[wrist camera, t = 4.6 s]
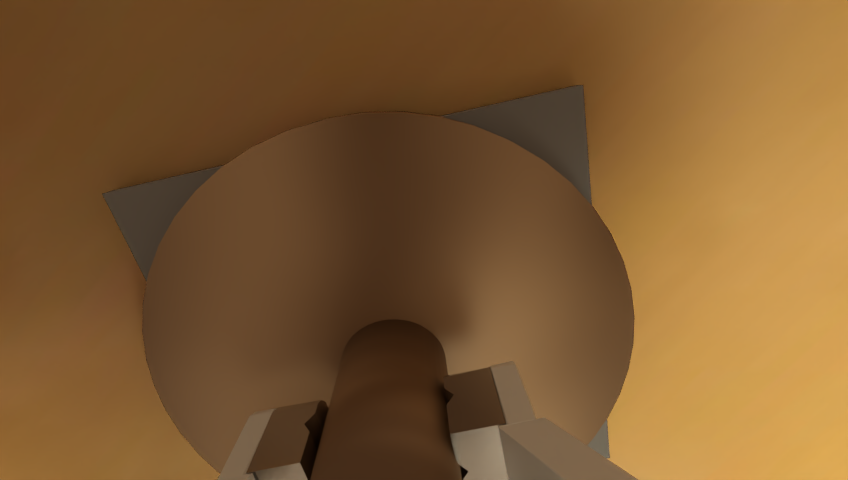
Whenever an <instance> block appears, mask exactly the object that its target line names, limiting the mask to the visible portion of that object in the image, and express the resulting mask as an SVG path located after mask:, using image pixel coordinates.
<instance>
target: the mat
mask: <svg viewBox="0 0 848 480" xmlns="http://www.w3.org/2000/svg"><path fill="white" fill-rule="evenodd" d="M441 117H445V118H449V119H453V120H456V121H460V122H464V123H468V124H472V125H474V126H477V127H479V128H482V129H484V130H486V131H489V132H491V133H493V134H496V135H498V136H501V137H503V138H505V139H507V140H510V141H512V142H514V143H515V144H517V145H519V146H520V147H522V148H524V149H525V150H527V151H529V152H530V153H532V154H534V155H535V156H537V157H539V158H540V159H542V160H544V161H545V162H546V163H548V164H549V165H550V166H551V167H552V168H554V169H555V170H556V171H557V172H559V173H560V174H561V175H562V176H564V177H565V178H566V179H567V180H568V181H570V182H571V183H572V184H573V185H574V186H575V187H576V189H577V190H578V191H579V192H580V193H581V194H582V195H583V196H584V197H585V198H586V200H587V201H588V202H589V203H590V204H591V205H592V202H591V188H590V174H589V160H588V146H587V132H586V118H585V104H584V90H583V85H576V86H571V87H567V88H563V89H558V90H554V91H549V92H545V93H541V94H536V95H532V96H527V97H523V98H518V99H514V100H510V101H505V102H501V103H496V104H492V105H488V106H483V107H479V108H474V109H470V110H465V111H461V112H457V113H452V114H448V115H443V116H441ZM223 166H224V165H222V166H218V167H214V168H209V169H205V170H200V171H196V172H192V173H187V174H183V175H178V176H174V177H169V178H165V179H161V180H156V181H152V182H147V183H143V184H139V185H134V186H130V187H125V188H121V189H116V190H113V191H110V192H107V193H104V194H102V195H103V197H104V198H105V200H106V202H107V204H108V206H109V208H110V210H111V212H112V214H113V216H114V218H115V220H116V222H117V224H118V226H119V228H120V230H121V232H122V234H123V236H124V238H125V240H126V242H127V244H128V246H129V248H130V250H131V252H132V254H133V256H134V258H135V260H136V262H137V264H138V266H139V267H140V269H141V271H142V273H143V275H144V277H145V279H146V281H147V278H148V273H149V271H150V268H151V265H152V262H153V260H154V257H155V254H156V251H157V248H158V246H159V244H160V242H161V240H162V238H163V237H164V235H165V233H166V231H167V229H168V228H169V226H170V224H171V222H172V221H173V219H174V217H175V216H176V215H177V213H178V212H179V211H180V210H181V208H182V207H183V206H184V205H185V203H186V202H187V201H188V200H189V198H190V197H191V196H192V195H193V193H194V192H195V191H196V190H197V189H198V188H199V187H200V186H201V185H202V184H204V183H205V182H206V181H207V180H208V179H209V178H210V177H211V176H212V175H213V174H215V173H216V172H217V171H218V170H219V169H220V168H221V167H223ZM587 446H588V447H590V448H591V449H593V450H594V451H596V452H597V453H599V454H600V455H602V456H603V457H605V458H610V455H609V441H608V427H607V419H606V421H605V422H604V424H603V425H602V427H601V428H600V430H599V431H598V432H597V434H596V435H595V437H594V438H593V439H592V441H591V442H590V443H589V444H588V445H587Z"/></svg>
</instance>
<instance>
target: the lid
mask: <svg viewBox="0 0 848 480" xmlns="http://www.w3.org/2000/svg"><path fill="white" fill-rule="evenodd" d="M142 332H143V339H144V346H145V353H146V360H147V363H148V366H149V370H150V373H151V376H152V380H153V383H154V386H155V388H156V390H157V392H158V395H159V397H160V399H161V401H162V403H163V405H164V407H165V409H166V411H167V413H168V414H169V416H170V417H171V419H172V421H173V422H174V424H175V425H176V427H177V428H178V430H179V431H180V433H181V434H182V435H183V436H184V438H185V439H186V440H187V441H188V442H189V443H190V445H191V446H192V447H193V448H194V449H195V451H196V452H197V453H198V454H199V455H200V456H201V457H202V458H203V459H205V460H206V461H207V462H208V463H209V464H210V465H211V466H212V467H213V468H214V469H215V470H216V471H218V472H219V473H221V471H222V469H223V467H224V465H225V463H226V461H227V459H228V458H229V456H230V454H231V452H232V450H233V448H234V446H235V444H236V442H237V440H238V438H239V436H240V434H241V432H242V430H243V428H244V426H245V424H246V422H247V420H248V418H249V416H250V415H252V414H253V413H254V412H257V411H263V410H268V409H274V408H278V407H284V406H289V405H295V404H301V403H307V402H312V401H318V400H323V401H325V402H326V403H327V406H328V408H329V409H328V413H327V417H326V420H325V424H324V428H323V432H322V436H321V440H320V444H319V447H318V451H317V455H316V459H315V463H314V467H313V471H312V474H311V478H310V480H462V476H461V468H460V465H459V464H458V463H457V461H456V457H455V453H454V449H453V445H452V440H451V436H450V430H449V422H448V414H447V406H446V405H447V404H448V401H447V397H446V393H445V388H444V379H443V377H444V376H446V375H451V374H456V373H461V372H466V371H471V370H476V369H481V368H486V367H490V366H492V365H496V364H501V363H505V362H509V361H513V362H514V363H515V364H516V366H517V369H518V371H519V374H520V376H521V379H522V382H523V384H524V387H525V389H526V392H527V394H528V397H529V399H530V402H531V404H532V407H533V410H534V412H535V415H536V417H537V419H538V418H546V419H548V420H549V421H551V422H552V423H554V424H555V425H557V426H558V427H560V428H561V429H563V430H564V431H566V432H567V433H569V434H570V435H572V436H573V437H575V438H576V439H578V440H579V441H581V442H582V443H584V444H585V445H588V444H589V443H590V442H591V441H592V439H593V438H594V437H595V435H596V434H597V432H598V431H599V430H600V428H601V427H602V425H603V424H604V422H605V421H606V419H607V418H608V416H609V414H610V412H611V410H612V408H613V406H614V404H615V403H616V401H617V399H618V397H619V395H620V392H621V389H622V386H623V383H624V381H625V378H626V375H627V372H628V369H629V363H630V358H631V353H632V348H633V339H634V309H633V300H632V291H631V286H630V283H629V279H628V276H627V272H626V268H625V265H624V261H623V259H622V257H621V255H620V252H619V250H618V248H617V246H616V244H615V241H614V239H613V237H612V235H611V233H610V231H609V230H608V228H607V227H606V225H605V224H604V222H603V221H602V219H601V218H600V216H599V215H598V213H597V212H596V210H595V209H594V207H593V206H592V205H591V204H590V203H589V202H588V201H587V200H586V198H585V197H584V196H583V195H582V194H581V193H580V192H579V191H578V190H577V189H576V187H575V186H574V185H573V184H572V183H571V182H570V181H568V180H567V179H566V178H565V177H564V176H562V175H561V174H560V173H559V172H557V171H556V170H555V169H554V168H552V167H551V166H550V165H549V164H548V163H546V162H545V161H544V160H542V159H540V158H539V157H537V156H535V155H534V154H532V153H530V152H529V151H527V150H525V149H524V148H522V147H520V146H519V145H517V144H515V143H514V142H512V141H510V140H507V139H505V138H503V137H501V136H498V135H496V134H493V133H491V132H489V131H486V130H484V129H482V128H479V127H477V126H474V125H472V124H468V123H464V122H460V121H456V120H453V119H449V118H445V117H441V116H437V115H428V114H420V113H412V112H403V111H397V112H363V113H357V114H350V115H344V116H338V117H331V118H328V119H324V120H321V121H318V122H314V123H311V124H308V125H305V126H301V127H298V128H295V129H291V130H288V131H285V132H283V133H281V134H279V135H277V136H274V137H272V138H270V139H268V140H266V141H264V142H262V143H260V144H257V145H255V146H253V147H251V148H250V149H248V150H247V151H245V152H244V153H242V154H241V155H239V156H238V157H236V158H235V159H233V160H232V161H230V162H229V163H227V164H226V165H224V166H223V167H221V168H220V169H219V170H218V171H217V172H216V173H215V174H213V175H212V176H211V177H210V178H209V179H208V180H207V181H206V182H205V183H204V184H202V185H201V186H200V187H199V188H198V189H197V190H196V191H195V192H194V193H193V195H192V196H191V197H190V198H189V200H188V201H187V202H186V203H185V205H184V206H183V207H182V208H181V210H180V211H179V212H178V213H177V215H176V216H175V217H174V219H173V221H172V222H171V224H170V226H169V228H168V229H167V231H166V233H165V235H164V237H163V238H162V240H161V242H160V244H159V246H158V248H157V251H156V254H155V257H154V260H153V262H152V265H151V268H150V271H149V273H148V278H147V284H146V289H145V295H144V300H143V328H142Z"/></svg>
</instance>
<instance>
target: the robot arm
mask: <svg viewBox="0 0 848 480" xmlns="http://www.w3.org/2000/svg"><path fill="white" fill-rule="evenodd" d="M443 379H444V388H445V393H446V397H447V401H448V404H447V405H446V406H447V414H448V422H449V430H450V436H451V440H452V445H453V449H454V453H455V457H456V461H457V463H458V464H459V465H460V468H461V476H462V480H638V479H636V478H635V477H633V476H632V475H630V474H629V473H627V472H626V471H624V470H623V469H621V468H620V467H618V466H617V465H615V464H614V463H612V462H611V461H609V460H608V459H606V458H605V457H603V456H602V455H600V454H599V453H597V452H596V451H594V450H593V449H591V448H590V447H588V446H587V445H585V444H584V443H582V442H581V441H579V440H578V439H576V438H575V437H573V436H572V435H570V434H569V433H567V432H566V431H564V430H563V429H561V428H560V427H558V426H557V425H555V424H554V423H552V422H551V421H549V420H548V419H546V418H538V419H537V417H536V415H535V412H534V410H533V407H532V404H531V402H530V399H529V397H528V394H527V392H526V389H525V387H524V384H523V382H522V379H521V376H520V374H519V371H518V369H517V366H516V364H515V363H514V362H513V361H509V362H505V363H501V364H496V365H492V366H490V367H486V368H481V369H476V370H471V371H466V372H461V373H456V374H451V375H446V376H444V377H443ZM328 409H329V408H328V406H327V403H326V402H325V401H323V400H318V401H312V402H307V403H301V404H295V405H289V406H284V407H278V408H274V409H268V410H263V411H257V412H254V413H253V414H252V415H250V416H249V418H248V420H247V422H246V424H245V426H244V428H243V430H242V432H241V434H240V436H239V438H238V440H237V442H236V444H235V446H234V448H233V450H232V452H231V454H230V456H229V458H228V459H227V461H226V463H225V465H224V467H223V469H222V471H221V473H220V475H219V477H218V479H217V480H310V478H311V474H312V471H313V467H314V463H315V459H316V455H317V451H318V447H319V444H320V440H321V436H322V432H323V428H324V424H325V420H326V417H327V413H328Z"/></svg>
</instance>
